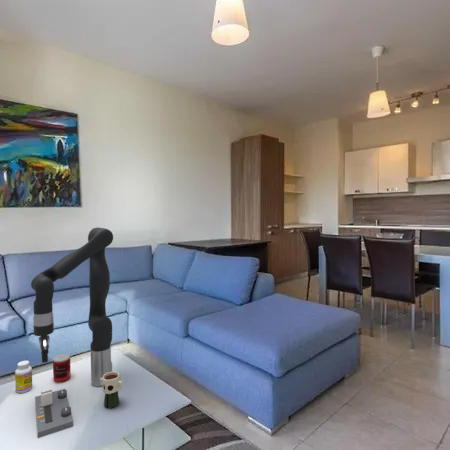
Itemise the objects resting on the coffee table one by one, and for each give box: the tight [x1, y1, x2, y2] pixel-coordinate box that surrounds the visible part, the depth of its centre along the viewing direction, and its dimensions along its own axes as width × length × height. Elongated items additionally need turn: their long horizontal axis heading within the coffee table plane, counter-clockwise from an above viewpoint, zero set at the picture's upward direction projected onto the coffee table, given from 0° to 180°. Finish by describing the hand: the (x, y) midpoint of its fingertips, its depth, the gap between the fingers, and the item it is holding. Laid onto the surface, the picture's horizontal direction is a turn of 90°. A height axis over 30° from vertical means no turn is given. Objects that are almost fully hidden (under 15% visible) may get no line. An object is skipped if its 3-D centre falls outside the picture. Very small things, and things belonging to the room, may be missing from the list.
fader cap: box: [40, 388, 53, 407], centre depth 136 cm, size 4×3×5 cm
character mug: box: [100, 370, 123, 409], centre depth 140 cm, size 11×7×13 cm, turn 73°
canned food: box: [52, 353, 72, 384], centre depth 160 cm, size 8×8×11 cm
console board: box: [34, 388, 74, 438], centre depth 134 cm, size 12×26×4 cm, turn 32°
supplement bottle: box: [14, 360, 33, 394], centre depth 150 cm, size 7×7×13 cm
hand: (44, 361), depth 139 cm, fingers closed
